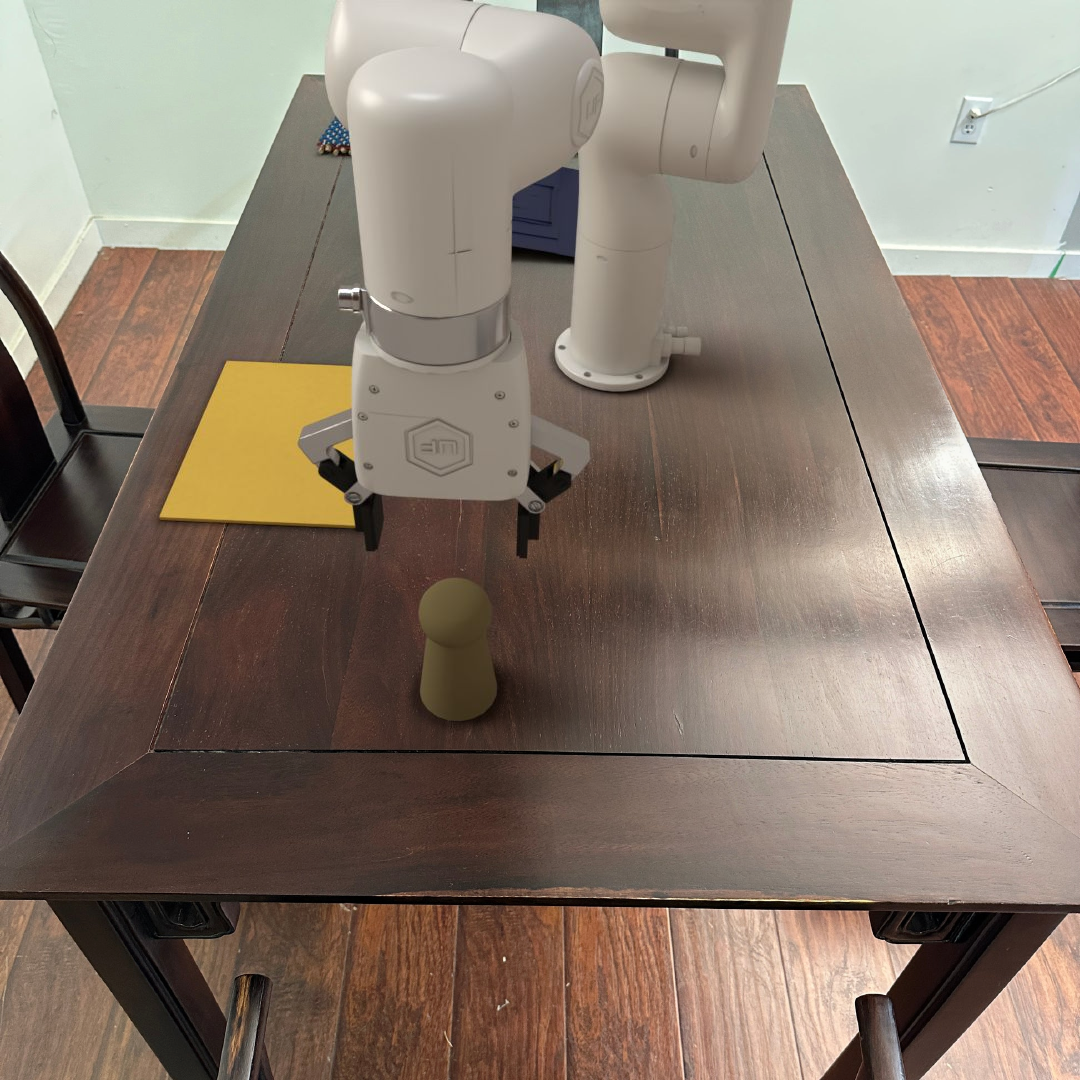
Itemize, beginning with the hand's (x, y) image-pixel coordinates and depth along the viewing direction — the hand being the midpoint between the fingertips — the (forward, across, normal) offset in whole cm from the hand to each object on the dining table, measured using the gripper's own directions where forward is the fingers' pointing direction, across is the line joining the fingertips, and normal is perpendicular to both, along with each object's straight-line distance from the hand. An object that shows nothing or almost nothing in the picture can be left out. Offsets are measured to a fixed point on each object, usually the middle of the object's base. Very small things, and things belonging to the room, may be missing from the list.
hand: (449, 539), depth 63 cm
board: (+17, -19, +30) cm, 39 cm away
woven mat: (+16, -23, +98) cm, 101 cm away
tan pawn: (+17, 0, 0) cm, 17 cm away
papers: (+16, -2, +78) cm, 79 cm away
